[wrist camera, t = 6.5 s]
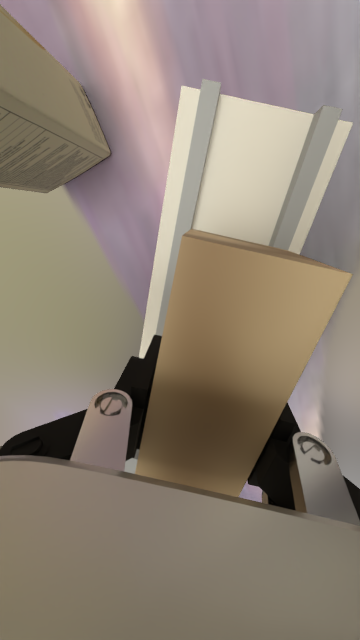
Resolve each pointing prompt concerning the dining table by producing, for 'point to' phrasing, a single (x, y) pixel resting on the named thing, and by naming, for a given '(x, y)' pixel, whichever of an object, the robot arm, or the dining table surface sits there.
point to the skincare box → (42, 116)
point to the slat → (231, 356)
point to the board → (239, 181)
